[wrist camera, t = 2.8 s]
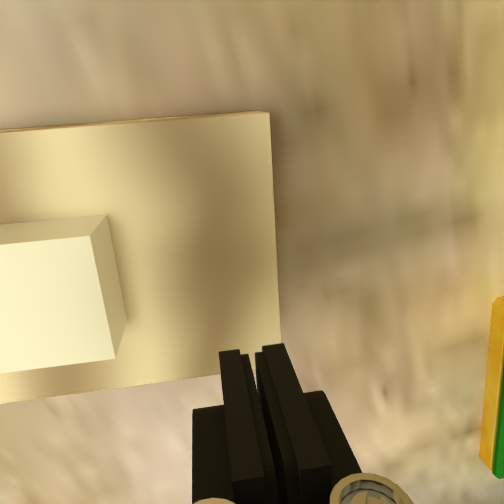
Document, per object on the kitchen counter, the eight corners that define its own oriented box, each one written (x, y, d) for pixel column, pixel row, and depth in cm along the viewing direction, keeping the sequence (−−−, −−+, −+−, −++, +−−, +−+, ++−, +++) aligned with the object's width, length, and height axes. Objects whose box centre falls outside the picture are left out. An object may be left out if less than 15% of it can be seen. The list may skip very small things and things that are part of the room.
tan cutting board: (253, 110, 21) (269, 112, 17) (266, 317, 26) (282, 365, 21) (-171, 142, 20) (-287, 154, 15) (-84, 360, 24) (-153, 424, 19)
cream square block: (106, 214, 17) (89, 235, 14) (127, 320, 19) (115, 358, 16) (-21, 226, 17) (-64, 251, 14) (12, 334, 18) (-21, 376, 16)
